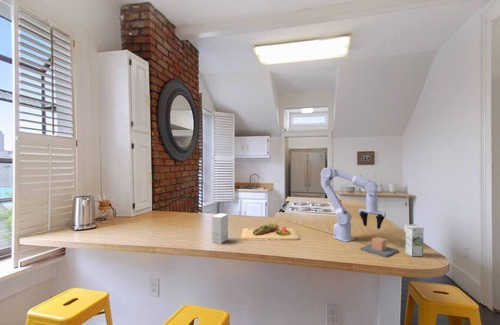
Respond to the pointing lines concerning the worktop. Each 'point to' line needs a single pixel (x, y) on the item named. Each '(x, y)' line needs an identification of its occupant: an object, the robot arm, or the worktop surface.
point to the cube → (379, 244)
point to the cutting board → (270, 233)
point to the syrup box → (414, 240)
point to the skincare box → (219, 228)
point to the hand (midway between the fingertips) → (371, 227)
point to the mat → (383, 253)
